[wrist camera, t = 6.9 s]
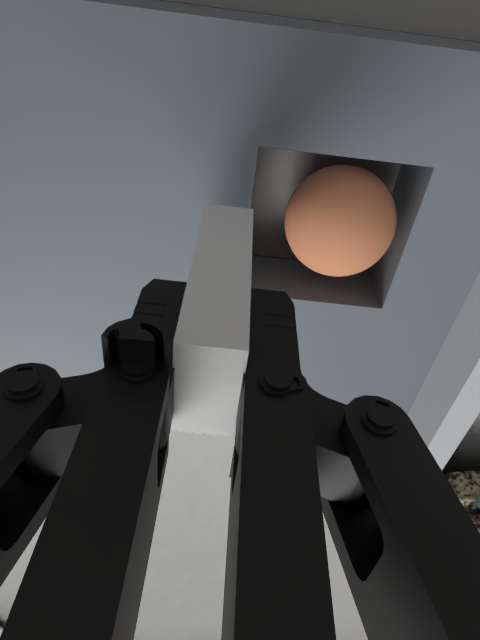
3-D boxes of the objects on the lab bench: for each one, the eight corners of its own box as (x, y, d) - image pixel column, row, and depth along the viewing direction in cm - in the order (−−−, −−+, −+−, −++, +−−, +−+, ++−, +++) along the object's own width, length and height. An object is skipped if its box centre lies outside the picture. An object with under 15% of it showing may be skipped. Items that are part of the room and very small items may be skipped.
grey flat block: (-43, 343, 24) (-108, 425, 20) (-185, -46, 14) (-377, -48, 10) (407, 389, 25) (437, 477, 21) (568, 54, 15) (690, 90, 11)
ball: (257, 250, 18) (315, 307, 16) (273, 151, 16) (345, 198, 13) (335, 237, 20) (398, 286, 18) (360, 145, 18) (438, 186, 15)
